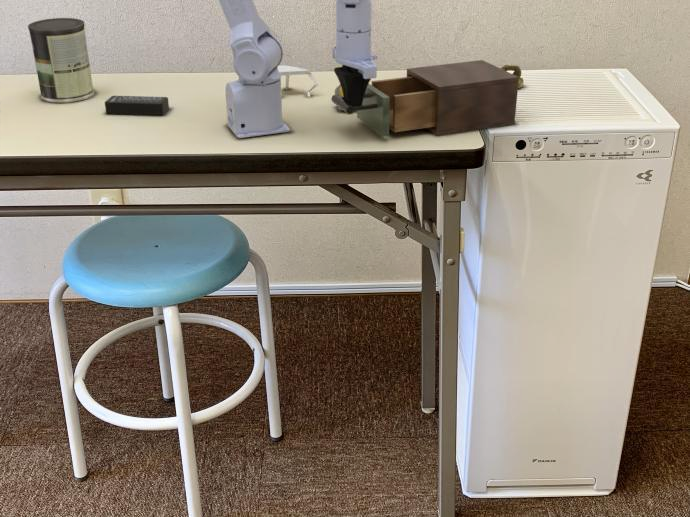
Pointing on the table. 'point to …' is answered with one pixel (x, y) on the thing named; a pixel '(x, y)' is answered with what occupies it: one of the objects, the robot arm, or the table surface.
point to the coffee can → (61, 59)
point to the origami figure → (295, 71)
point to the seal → (515, 73)
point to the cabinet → (470, 95)
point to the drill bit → (339, 94)
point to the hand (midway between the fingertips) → (353, 109)
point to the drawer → (395, 105)
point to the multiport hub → (137, 105)
